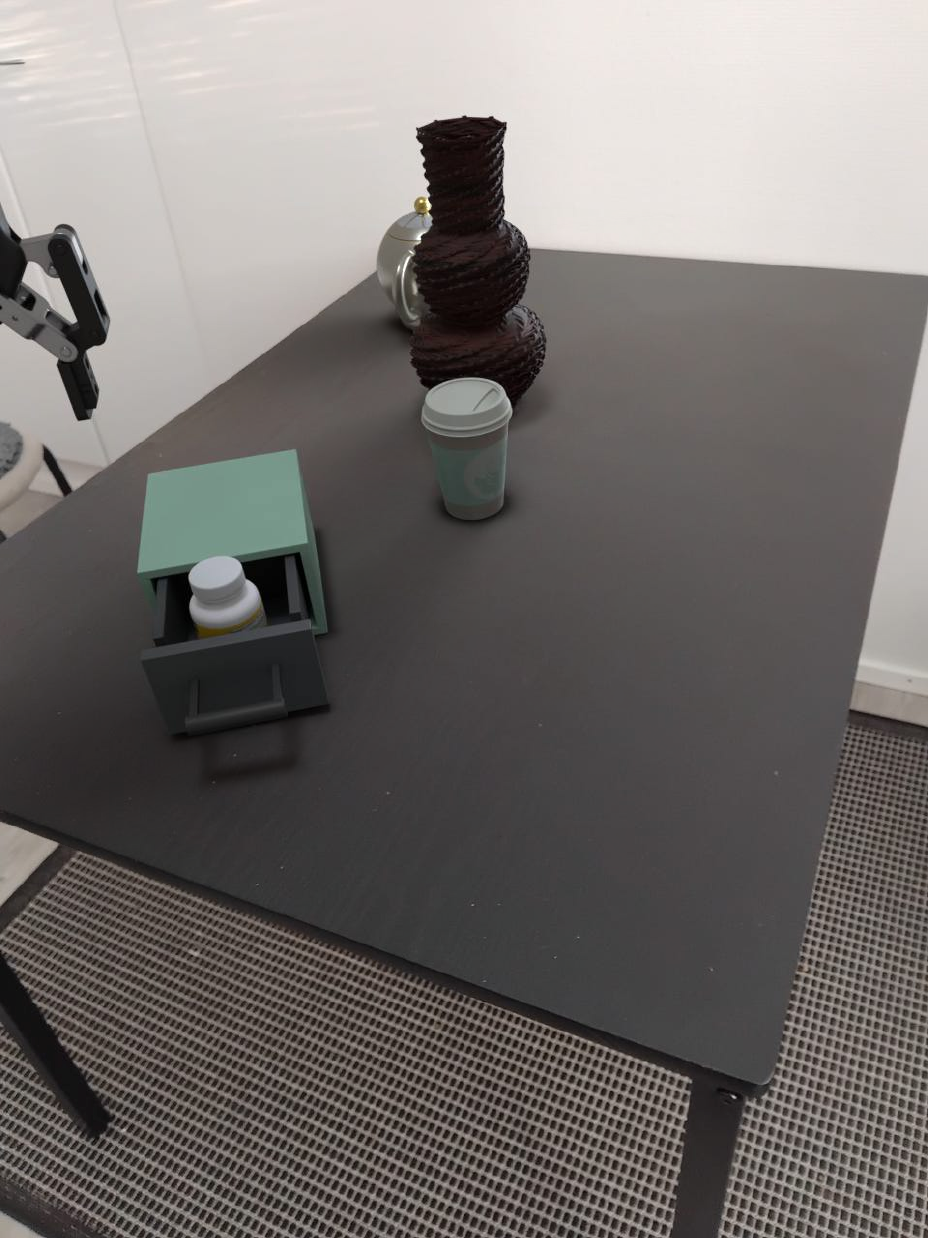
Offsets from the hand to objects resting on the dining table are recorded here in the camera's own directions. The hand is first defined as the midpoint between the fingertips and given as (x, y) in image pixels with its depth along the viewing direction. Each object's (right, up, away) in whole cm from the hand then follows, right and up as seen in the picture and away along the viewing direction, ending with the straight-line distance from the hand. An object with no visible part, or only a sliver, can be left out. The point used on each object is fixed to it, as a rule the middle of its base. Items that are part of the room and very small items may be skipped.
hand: (12, 426), depth 57 cm
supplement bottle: (+9, -15, +22) cm, 28 cm away
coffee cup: (+28, 0, +41) cm, 49 cm away
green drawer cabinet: (+7, -9, +32) cm, 34 cm away
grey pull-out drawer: (+9, -16, +22) cm, 29 cm away
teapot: (+22, +28, +76) cm, 84 cm away
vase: (+29, +13, +57) cm, 65 cm away
